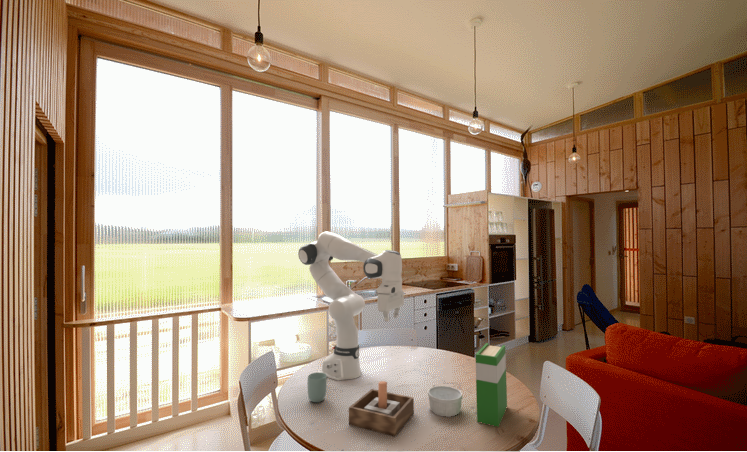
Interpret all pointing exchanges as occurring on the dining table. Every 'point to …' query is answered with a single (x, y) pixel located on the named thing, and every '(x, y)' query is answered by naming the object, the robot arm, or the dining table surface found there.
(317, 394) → the cup
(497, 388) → the hardback book
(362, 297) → the robot arm
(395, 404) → the box
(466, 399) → the dining table surface
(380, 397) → the peg
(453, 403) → the ramekin
